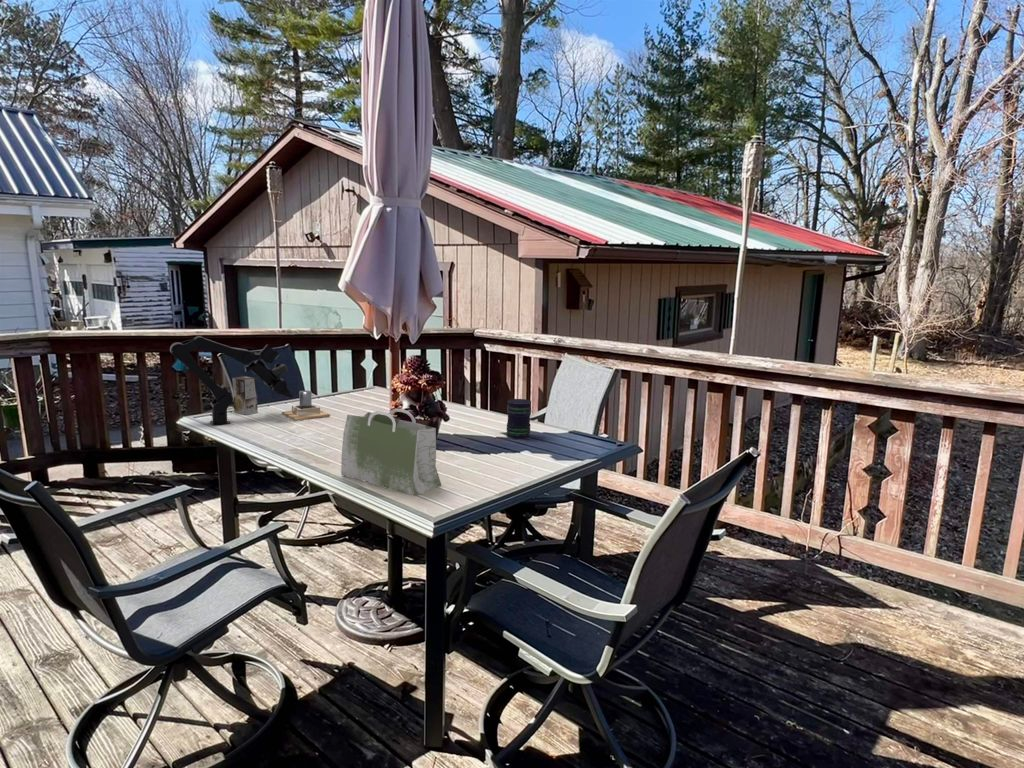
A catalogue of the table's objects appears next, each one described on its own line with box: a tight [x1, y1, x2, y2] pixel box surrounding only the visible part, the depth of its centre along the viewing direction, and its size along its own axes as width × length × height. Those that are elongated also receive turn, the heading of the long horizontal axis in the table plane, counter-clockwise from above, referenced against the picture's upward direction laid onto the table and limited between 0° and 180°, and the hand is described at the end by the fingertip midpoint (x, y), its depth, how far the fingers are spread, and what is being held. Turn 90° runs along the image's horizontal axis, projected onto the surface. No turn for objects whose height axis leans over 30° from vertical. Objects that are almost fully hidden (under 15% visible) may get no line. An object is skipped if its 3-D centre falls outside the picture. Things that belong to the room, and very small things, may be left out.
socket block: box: [281, 403, 331, 422], centre depth 284 cm, size 16×16×4 cm
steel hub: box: [298, 390, 313, 409], centre depth 283 cm, size 5×5×10 cm
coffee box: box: [232, 375, 259, 416], centre depth 285 cm, size 9×6×16 cm
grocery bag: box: [340, 408, 442, 496], centre depth 199 cm, size 32×14×23 cm, turn 59°
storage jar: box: [506, 398, 532, 440], centre depth 259 cm, size 10×10×15 cm
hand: (289, 395), depth 279 cm, fingers open, 9 cm apart
